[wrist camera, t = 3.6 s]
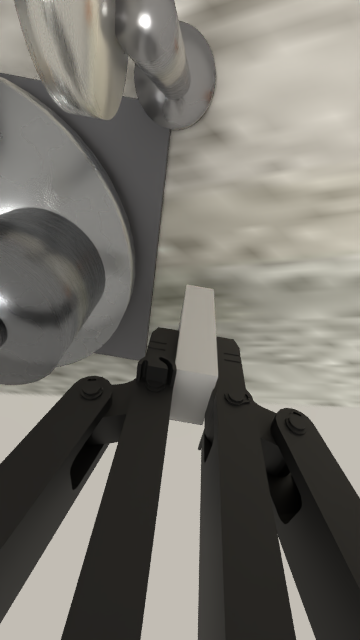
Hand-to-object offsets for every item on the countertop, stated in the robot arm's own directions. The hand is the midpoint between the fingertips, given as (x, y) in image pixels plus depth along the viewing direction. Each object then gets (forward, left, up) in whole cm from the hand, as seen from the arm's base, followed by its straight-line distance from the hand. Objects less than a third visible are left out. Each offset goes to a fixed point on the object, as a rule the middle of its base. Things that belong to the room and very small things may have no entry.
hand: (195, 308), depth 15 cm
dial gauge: (-3, +10, -5) cm, 12 cm away
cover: (-9, 0, -2) cm, 9 cm away
